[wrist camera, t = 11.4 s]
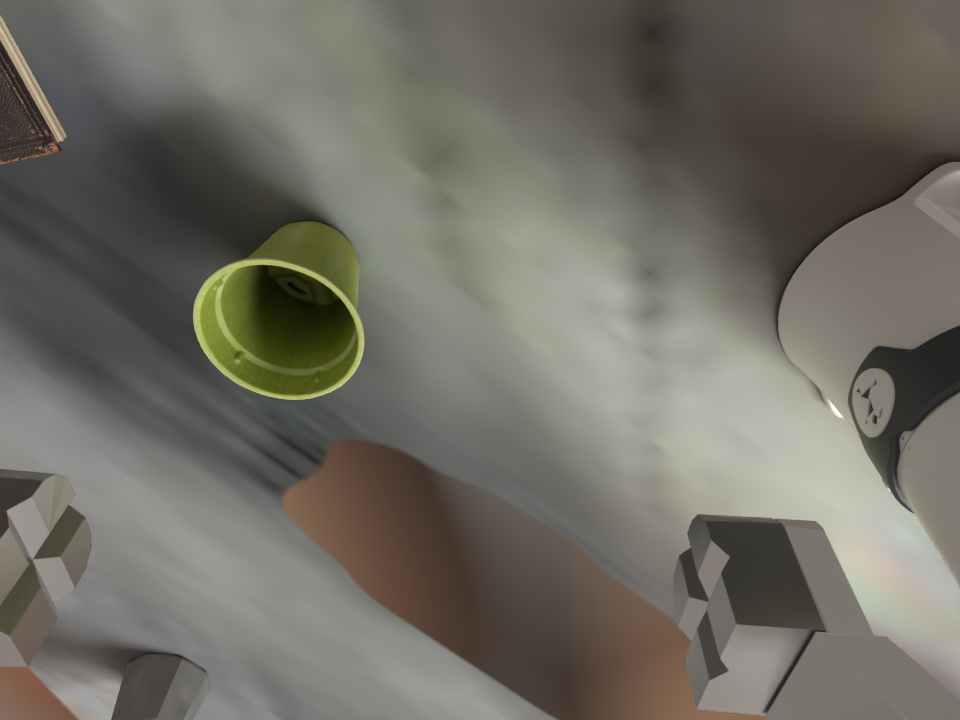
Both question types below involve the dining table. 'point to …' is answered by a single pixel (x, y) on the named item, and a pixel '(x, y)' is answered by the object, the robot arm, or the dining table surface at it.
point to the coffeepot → (161, 689)
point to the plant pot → (285, 314)
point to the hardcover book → (23, 108)
